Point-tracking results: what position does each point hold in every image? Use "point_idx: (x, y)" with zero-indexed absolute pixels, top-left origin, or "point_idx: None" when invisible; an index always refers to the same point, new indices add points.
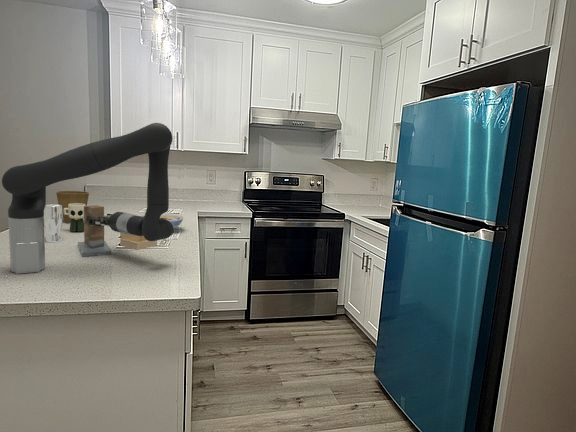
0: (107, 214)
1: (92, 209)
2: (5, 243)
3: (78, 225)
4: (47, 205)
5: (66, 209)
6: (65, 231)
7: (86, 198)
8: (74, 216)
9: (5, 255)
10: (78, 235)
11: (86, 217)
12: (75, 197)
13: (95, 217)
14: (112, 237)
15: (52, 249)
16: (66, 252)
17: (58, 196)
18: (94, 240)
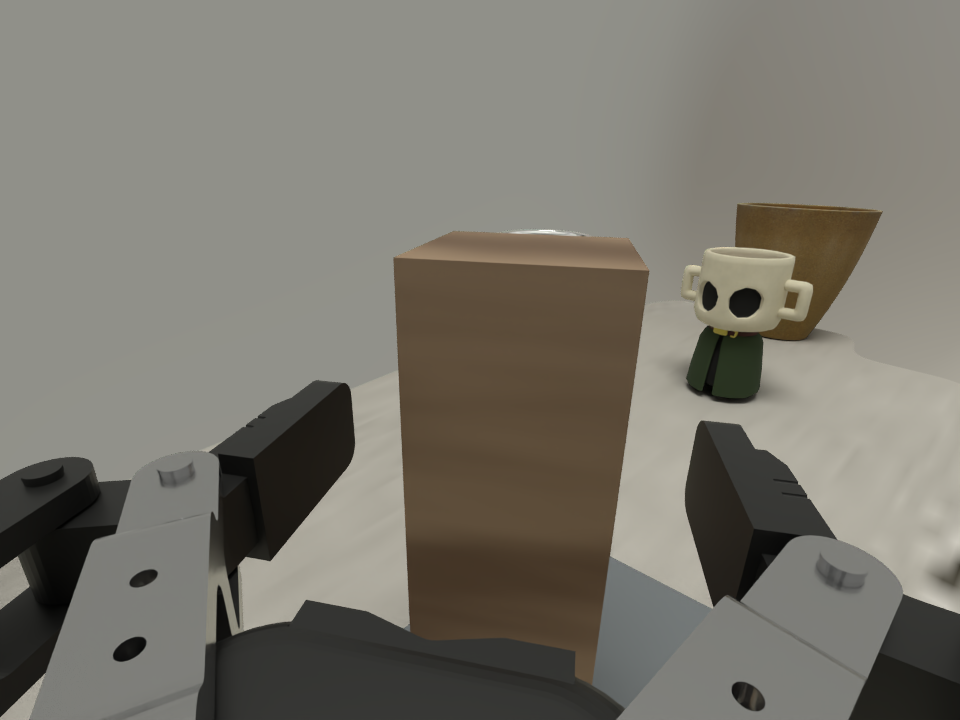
0: (701, 435)
1: (399, 291)
2: (397, 371)
3: (721, 365)
4: (540, 234)
5: (694, 273)
6: (674, 373)
7: (855, 237)
8: (710, 315)
9: (203, 450)
10: (685, 423)
11: (273, 407)
12: (797, 226)
13: (121, 515)
14: (872, 545)
15: (381, 503)
16: (338, 602)
17: (737, 220)
18: None
